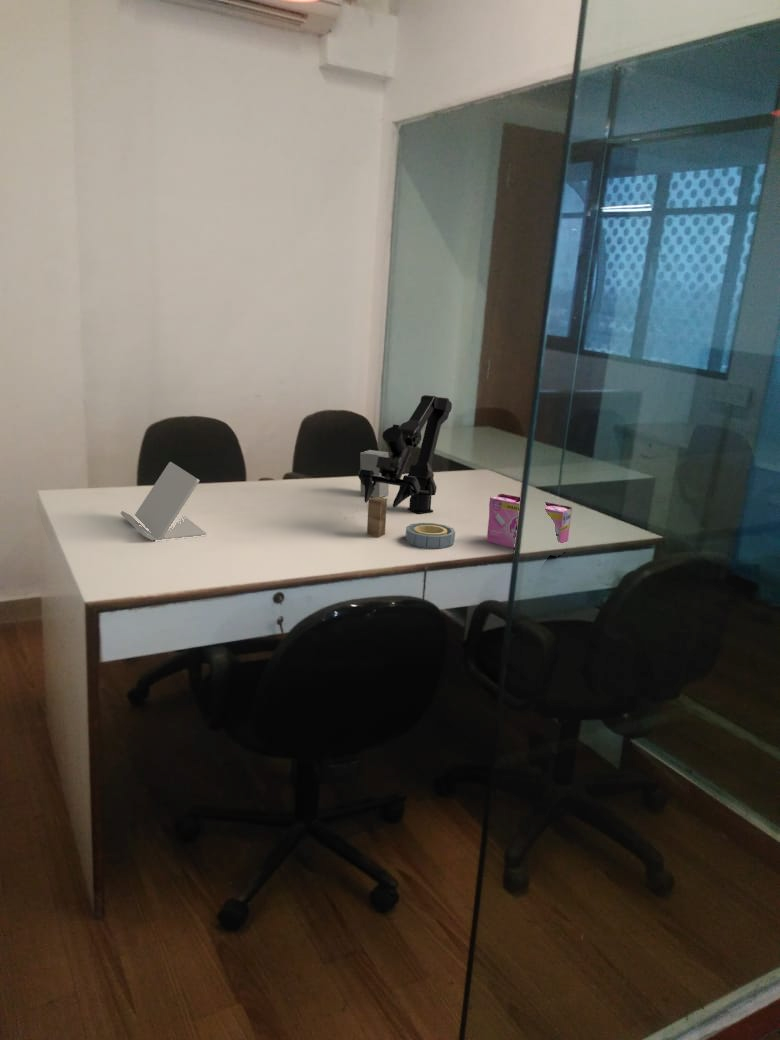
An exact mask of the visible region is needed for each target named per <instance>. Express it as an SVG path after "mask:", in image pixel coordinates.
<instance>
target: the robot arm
mask: <svg viewBox="0 0 780 1040" xmlns="http://www.w3.org/2000/svg"><path fill="white" fill-rule="evenodd" d="M452 408H453V403H452V401H450V398H448V397H441V396H435V395H428V394H424V395H422V396H421V398H420V402H419V403H418V405H417V407H416V408H415V410H414V412H412V414H411V416H410V417H409V419H408V420H407V421H405V422H403V423H401V424H392V426H390V427H388V428H386V429H385V430H384V431H383V432H382V440H383V442H384V444H385V446H386V448H387V450H388V452H390V453H389V454H390V455H388V458H387V457H380V456H379V457H378V460H377V464H376V467H378V468H379V472H380V473H381V474H382V475H381V476H379V475H375V474H374V472H373V470H368V469H361V470H359V471H358V474H357V476H358V479H359V480H360V484H361V483H362V484H363V485H364V486H365V496H364V503H365V504H367V503H369V499H371V497H370V496H371V495H372V493H373V491H374V489H375V488H374V486H375V485H376V482H380V483H386V484H389V485H393V486H399V489H398V491H397V494H396V496H395V498H394V499H393V503H392V508H396V507H398V505H399V504H401V503H403V501H405V500H406V499H408V498H409V497H410V498H409V507H407V510H408V511H411V512H413V513H415V514H417V515H418V514H419V515H420V514H427V513H433V512H434V510H433V509H432V508H431V506H432V496H436V492H437V484H436V481H435V480H434V476H435V474H434V471H433V469H432V464H433V459H434V456H435V452H436V447H437V443H438V440H439V434H440V432H441V427H442V425H443V424H444V423H445V422H446V421H447V420H448V418H449V415H450V413H451V411H452ZM424 426H425V427H424ZM423 428H425V430H424V432H423V438H422V430H423ZM421 441H422V442H421ZM420 443H421V445H420ZM419 445H420V450H419V454H418V457H417V461H416V462H415V464H410V467H409V472H408V474H407V475H405V473H406V470H405V468H406V466H407V464H408V461H409V460H412V452H411V449H410V447H411V448H418V446H419ZM402 476H403V477H402Z"/></svg>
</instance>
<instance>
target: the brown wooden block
mask: <svg viewBox="0 0 780 1040" xmlns="http://www.w3.org/2000/svg"><path fill="white" fill-rule="evenodd" d="M387 500H388V499H387V498H385V497H381V498H379V497H370V498H369V500H368V502H367V503H368V504H367V507H368V508H367V528H366V536H368V537H373V538H381V537H383V536H385V535H386V522H387V520H386V519H387V502H388V501H387Z"/></svg>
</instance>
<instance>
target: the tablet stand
mask: <svg viewBox="0 0 780 1040" xmlns="http://www.w3.org/2000/svg"><path fill="white" fill-rule="evenodd" d="M199 483H200V479H198V478H196V476H194V475H192V474H190V473H189V472H187V471H186V470H185V469H183V468H181V467H180V466H178V465H177V464H175V463H174V462H172V461H169V462H168V464H167V465H166V466H165V468H164V470H163V471H162V472H161V473H160V475H159V478H157V480H156V481H155V483H154V485H153V486H152V488H151V490H150V491H149V492H148V494H147V495H146V497H145V498H144V499H143V502H142V503H141V504H140V505H139V508H138V509H137V511H136V512H135V514H134V515H135V516H136V517H137V518H138V519H139V520H140V521H141V522H142V523H143V524H144V525H145V527H146V528H148V529H149V531H150V532H151V533H150V532H149V531H147V530H146V529H145V528H144V527H143V526H142V525H141V524H140V523H138V522H137V521H136V520H135V519H134V518H133V517H132V516H133V515H131V514H130V513H127V512H125V511H123V510H122V511H121V512H120V515H121V516H122V517H123V518H124V519H125V520H126V521H127V522H128V523H130V525H131V526H132V527H134V528H135V530H137V531H138V532H139V533H140V534H141V535H142V536H143V537H145V538H147V539H149V540H151V541H153V540H162V539H171V538H182V537H193V536H201V535H206V536H207V532H206V531H205V530H204V529H202V528H201V527H200V526H198V525H197V524H195V523H194V522H193V521H192V520H191V519H189V518H188V517H186V516H185V515H184V517H185V518H186V519H185V518H184V517H183V516H182V517H183V519H184V522H183V520H182V518H181V521H179V523H178V522H177V523H176V525H175V527H174V528H173V526H172V528H173V529H172V528H170V529H169V527H170V526H171V524H172V523H173V521H174V520H175V518H176V517H177V515H178V514H179V512H180V513H181V511H182V509H183V507H184V506H185V504H187V503H186V502H187V501H188V500H189V498H190V497H191V496H192V494H193V492H194V491H195V489H196V487H198V485H199ZM179 520H180V519H179ZM180 522H181V524H180ZM139 525H141V526H142V527H141V526H139ZM168 529H169V530H168ZM170 530H171V531H170ZM193 538H194V537H193Z"/></svg>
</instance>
